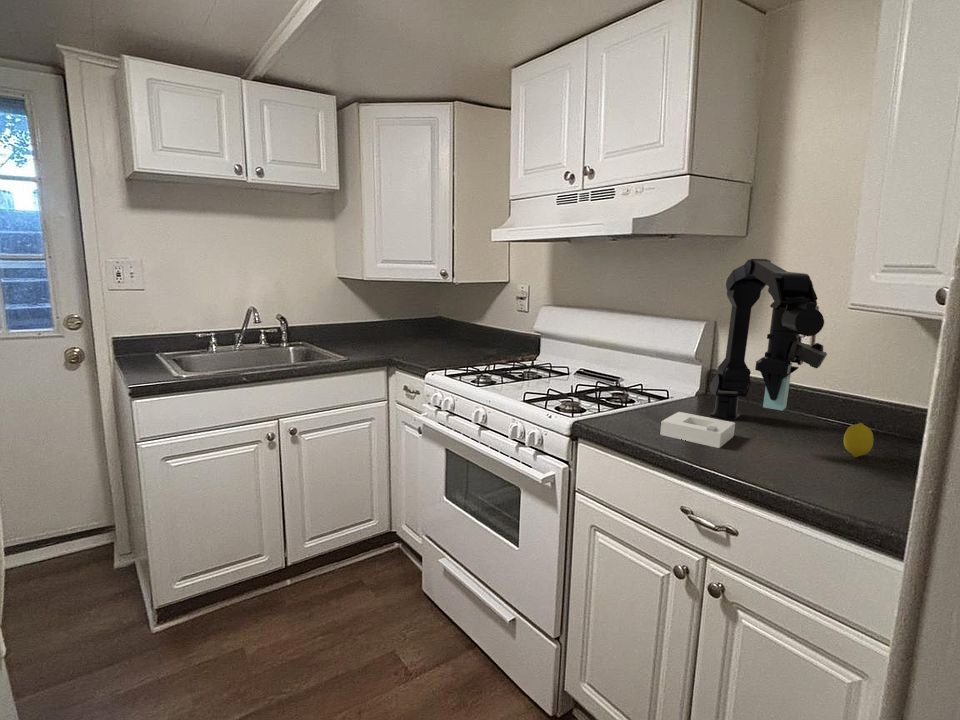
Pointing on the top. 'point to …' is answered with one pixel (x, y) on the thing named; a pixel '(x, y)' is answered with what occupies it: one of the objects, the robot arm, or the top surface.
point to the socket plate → (698, 429)
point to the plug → (782, 396)
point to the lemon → (858, 439)
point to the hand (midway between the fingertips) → (775, 398)
